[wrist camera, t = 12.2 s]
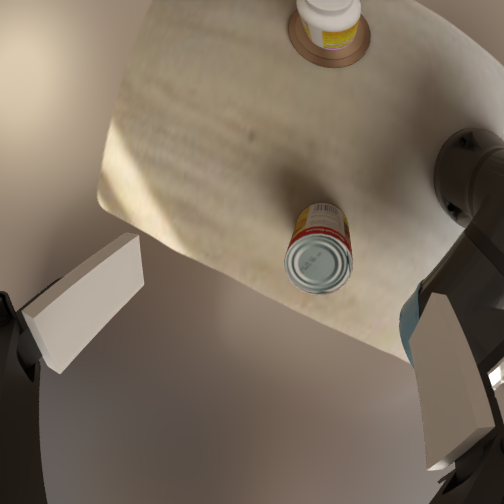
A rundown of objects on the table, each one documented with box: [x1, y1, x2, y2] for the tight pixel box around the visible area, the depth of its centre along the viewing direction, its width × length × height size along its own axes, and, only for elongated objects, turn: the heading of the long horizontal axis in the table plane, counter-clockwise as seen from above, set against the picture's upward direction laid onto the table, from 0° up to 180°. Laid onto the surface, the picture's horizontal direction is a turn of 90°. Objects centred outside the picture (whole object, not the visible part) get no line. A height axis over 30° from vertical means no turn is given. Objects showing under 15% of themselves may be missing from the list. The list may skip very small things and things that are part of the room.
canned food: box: [284, 203, 353, 295], centre depth 38 cm, size 8×8×12 cm
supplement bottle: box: [296, 0, 361, 50], centre depth 23 cm, size 7×7×13 cm
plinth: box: [289, 9, 371, 68], centre depth 29 cm, size 11×11×2 cm
